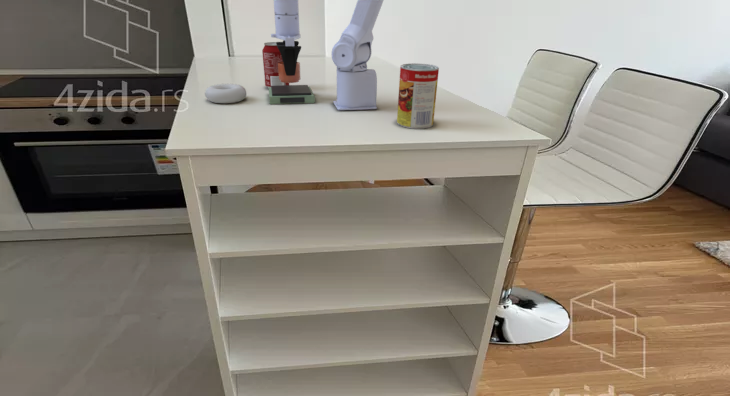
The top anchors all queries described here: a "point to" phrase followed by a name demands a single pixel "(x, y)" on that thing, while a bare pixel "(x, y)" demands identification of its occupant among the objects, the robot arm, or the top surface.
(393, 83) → the top surface
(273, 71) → the soda can
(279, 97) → the scale
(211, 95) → the donut
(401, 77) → the canned food
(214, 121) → the top surface
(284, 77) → the orange cup
